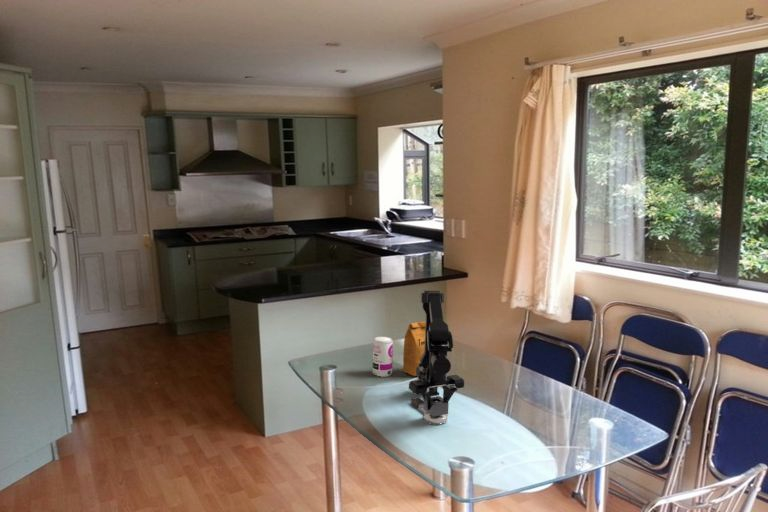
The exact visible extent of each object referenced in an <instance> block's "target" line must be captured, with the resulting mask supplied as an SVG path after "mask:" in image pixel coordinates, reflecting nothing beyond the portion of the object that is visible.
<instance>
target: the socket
mask: <svg viewBox="0 0 768 512" xmlns="http://www.w3.org/2000/svg"><path fill="white" fill-rule="evenodd" d="M434 401H438V402H436V403H435V402H434ZM424 410H425V411H426V412H427V413H429V414H430V415H431V416H432V417H433V416H439V415H444V414H447V415H449V402H447V401H446V400H444V399H443V396H440V395H436V396H431V401H430V408H429V410H427V409H426V406H425V403H424Z"/></svg>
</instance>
